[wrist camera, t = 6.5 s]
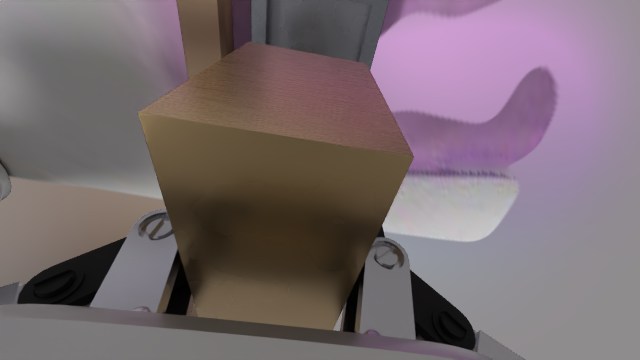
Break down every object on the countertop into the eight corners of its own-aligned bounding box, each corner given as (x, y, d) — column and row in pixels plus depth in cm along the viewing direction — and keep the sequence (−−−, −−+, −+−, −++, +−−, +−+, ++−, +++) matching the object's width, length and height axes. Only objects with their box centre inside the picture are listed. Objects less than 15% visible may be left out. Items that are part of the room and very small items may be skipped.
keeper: (341, 165, 26) (341, 174, 25) (255, 152, 26) (251, 160, 24) (387, -11, 17) (392, -11, 16) (256, -39, 16) (251, -41, 15)
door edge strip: (238, 146, 25) (228, 162, 23) (212, 142, 25) (200, 158, 22) (223, -184, 13) (200, -222, 11) (174, -196, 13) (139, -239, 10)
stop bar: (366, 63, 9) (413, 156, 4) (319, 244, 15) (314, 368, 10) (248, 41, 8) (138, 112, 3) (250, 236, 14) (211, 359, 9)
